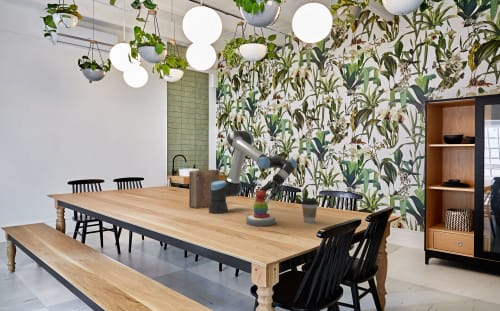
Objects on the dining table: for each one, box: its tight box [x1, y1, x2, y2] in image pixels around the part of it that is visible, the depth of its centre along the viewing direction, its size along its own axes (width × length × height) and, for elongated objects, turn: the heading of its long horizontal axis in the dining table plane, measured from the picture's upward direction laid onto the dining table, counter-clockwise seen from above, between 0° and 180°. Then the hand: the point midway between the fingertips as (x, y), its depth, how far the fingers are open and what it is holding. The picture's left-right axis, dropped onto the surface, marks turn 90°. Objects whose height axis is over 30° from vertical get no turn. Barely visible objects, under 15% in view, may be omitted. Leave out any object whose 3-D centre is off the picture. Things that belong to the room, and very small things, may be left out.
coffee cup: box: [300, 198, 319, 224], centre depth 235 cm, size 11×11×15 cm
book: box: [188, 169, 220, 209], centre depth 295 cm, size 25×9×30 cm, turn 138°
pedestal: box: [246, 214, 276, 227], centre depth 230 cm, size 19×19×4 cm
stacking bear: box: [253, 189, 271, 218], centre depth 230 cm, size 11×10×18 cm
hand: (261, 201), depth 230 cm, fingers open, 13 cm apart
